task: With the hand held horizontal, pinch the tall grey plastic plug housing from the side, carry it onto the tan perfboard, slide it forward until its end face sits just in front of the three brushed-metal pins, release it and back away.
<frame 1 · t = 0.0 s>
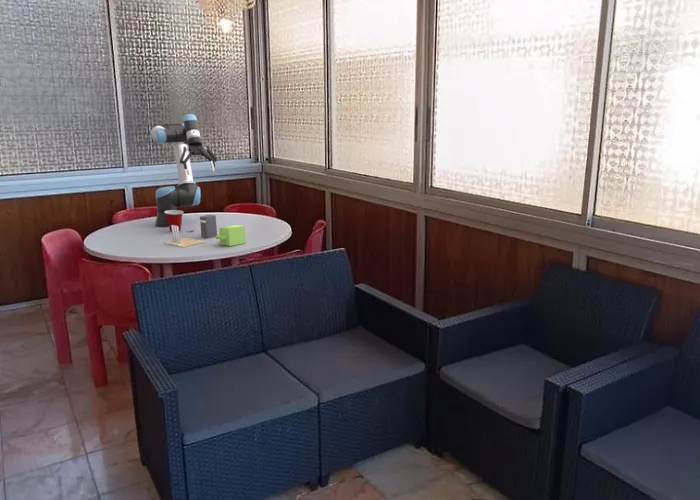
hand: (201, 173, 321), 36 cm above the table, tool tilted 35°, fingers open, 13 cm apart
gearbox: (233, 243, 314), on the table
plug housing: (209, 236, 330), on the table
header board: (184, 242, 317), on the table
plastic cup: (175, 231, 347), on the table
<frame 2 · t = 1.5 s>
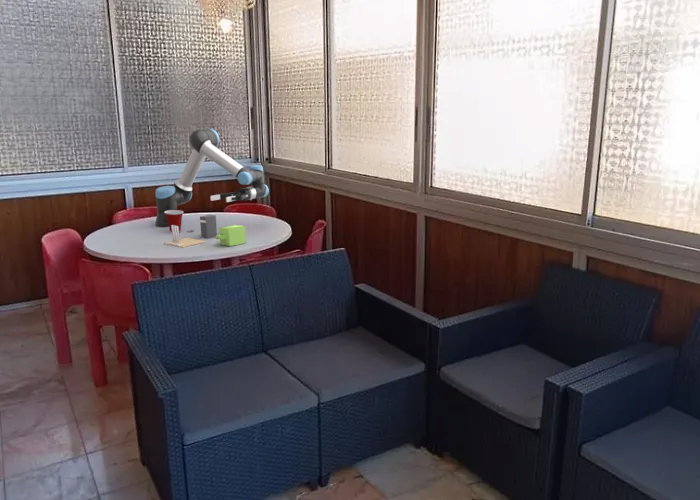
hand: (218, 199, 333), 20 cm above the table, tool horizontal, fingers open, 13 cm apart
nothing on the table moved.
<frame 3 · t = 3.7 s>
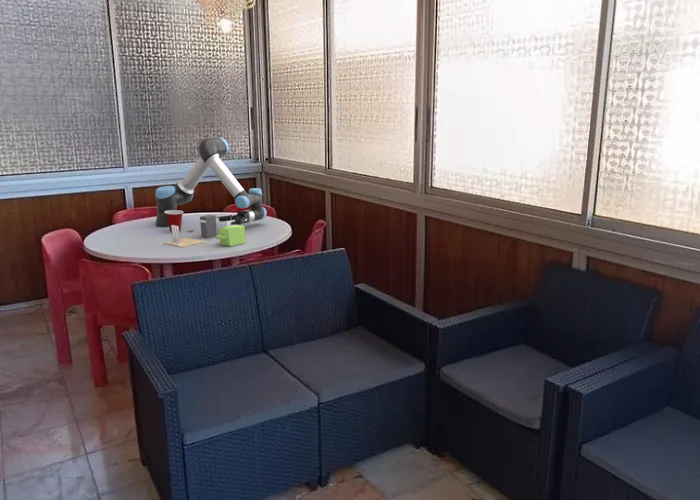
hand: (217, 222, 333), 7 cm above the table, tool horizontal, fingers open, 13 cm apart
nothing on the table moved.
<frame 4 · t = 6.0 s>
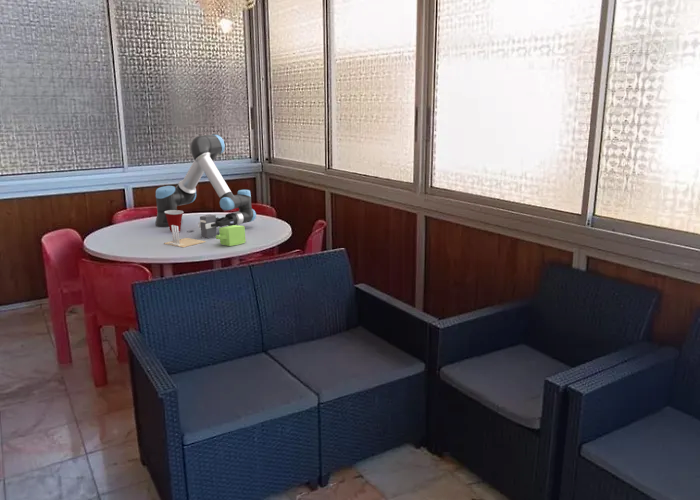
hand: (202, 225, 325), 7 cm above the table, tool horizontal, fingers closed on plug housing, 5 cm apart
plug housing: (209, 236, 330), on the table, touching gripper
everything else where it was.
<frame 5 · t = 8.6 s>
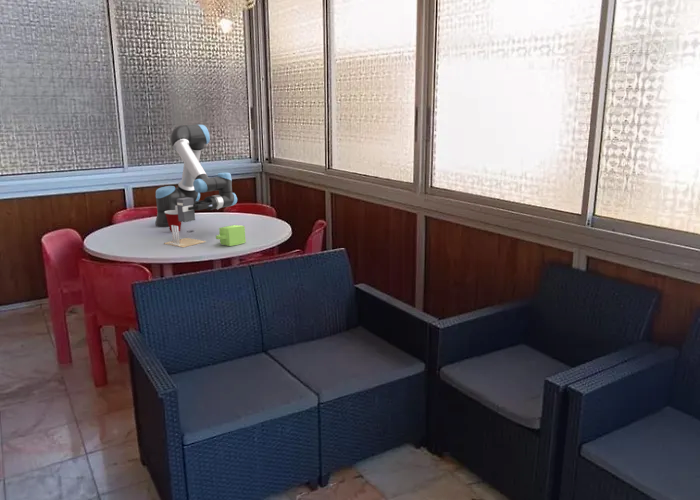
hand: (179, 208, 311), 19 cm above the table, tool horizontal, fingers closed on plug housing, 5 cm apart
plug housing: (186, 220, 316), point 12 cm above the table, touching gripper
everything else where it was.
when the fingers open (9 cm above the table, at t = 11.5 s): plug housing drops 1 cm, resting on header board.
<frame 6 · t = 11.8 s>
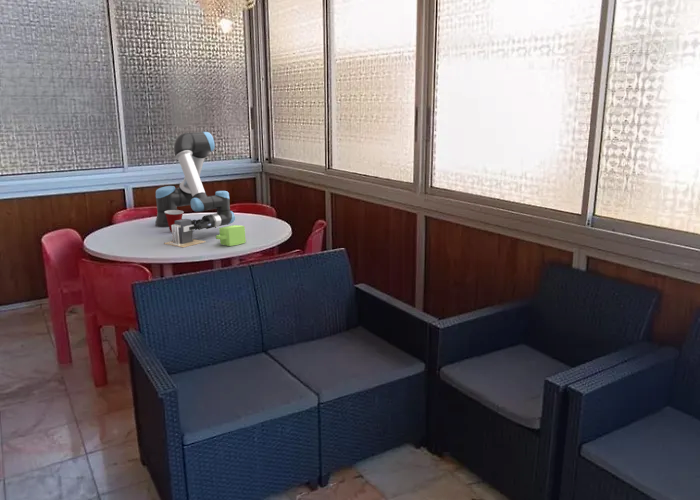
hand: (178, 228, 312), 9 cm above the table, tool horizontal, fingers open, 9 cm apart
plug housing: (184, 242, 317), resting on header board
everything else where it was.
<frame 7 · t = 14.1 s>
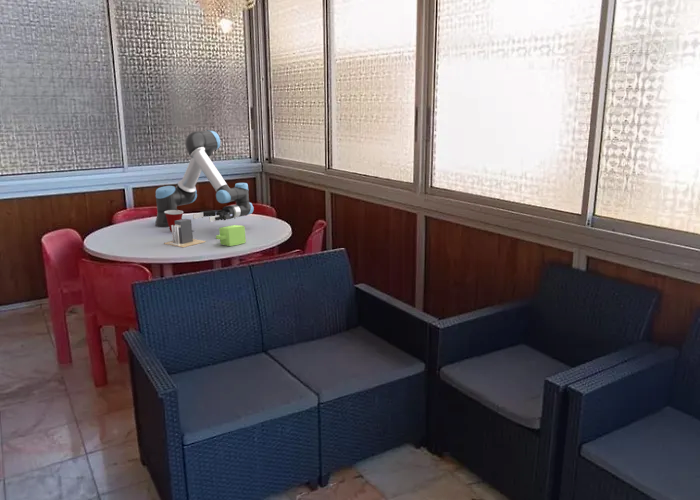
hand: (201, 218, 324), 11 cm above the table, tool horizontal, fingers open, 13 cm apart
nothing on the table moved.
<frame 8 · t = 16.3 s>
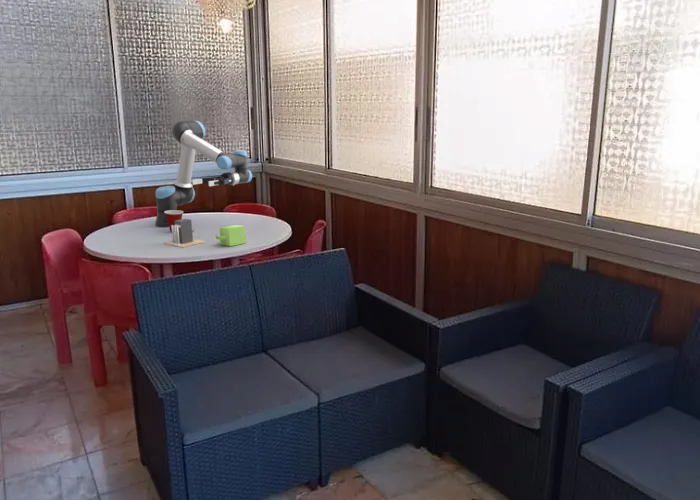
hand: (200, 183, 325), 30 cm above the table, tool horizontal, fingers open, 13 cm apart
nothing on the table moved.
at the end: plug housing inside the target area on the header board (1.7 cm from its centre), point 0.4 cm above the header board's base; plug housing tilted 0°; the gripper is holding nothing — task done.
